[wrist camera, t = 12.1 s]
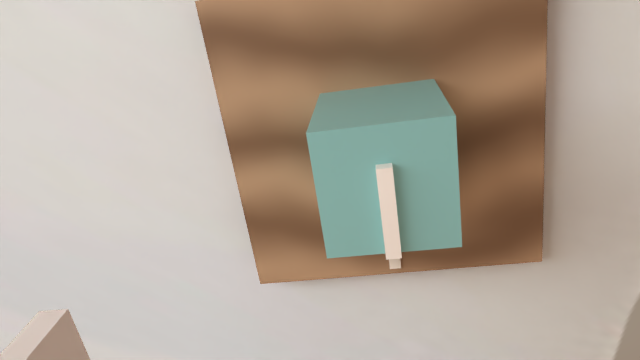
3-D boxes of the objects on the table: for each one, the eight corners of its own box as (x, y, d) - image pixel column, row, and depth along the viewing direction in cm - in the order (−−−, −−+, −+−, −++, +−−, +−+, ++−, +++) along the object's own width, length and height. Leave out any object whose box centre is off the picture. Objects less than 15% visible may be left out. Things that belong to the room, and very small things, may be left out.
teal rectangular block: (319, 93, 31) (304, 137, 23) (434, 78, 30) (458, 118, 23) (335, 195, 34) (326, 264, 26) (440, 184, 33) (464, 253, 25)
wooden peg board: (202, -1, 31) (160, 8, 25) (540, -55, 29) (590, -60, 22) (264, 272, 39) (244, 333, 32) (535, 249, 36) (572, 311, 30)
